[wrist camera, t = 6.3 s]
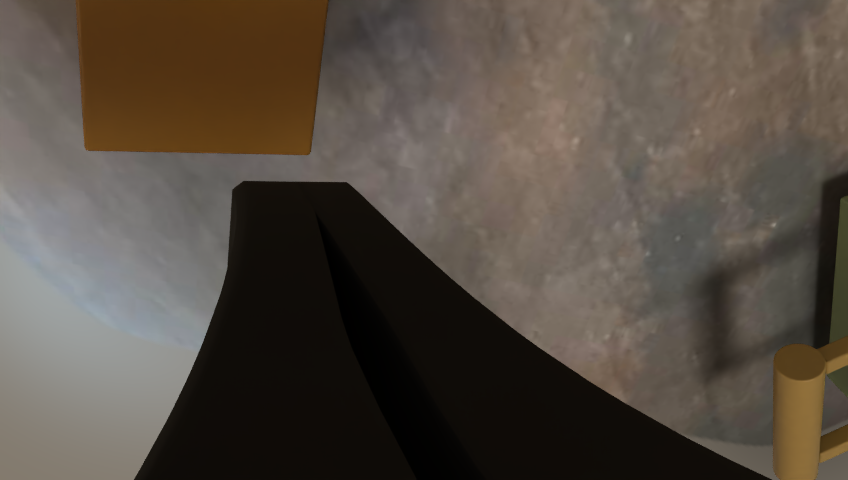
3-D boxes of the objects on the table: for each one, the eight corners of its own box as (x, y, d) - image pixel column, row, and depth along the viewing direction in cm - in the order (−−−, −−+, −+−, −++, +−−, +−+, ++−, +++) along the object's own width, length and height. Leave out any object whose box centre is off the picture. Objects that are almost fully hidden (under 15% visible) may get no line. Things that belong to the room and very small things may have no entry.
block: (280, 69, 18) (310, 156, 15) (92, 59, 17) (84, 152, 14) (297, -115, 16) (336, -57, 13) (82, -144, 15) (69, -87, 12)
